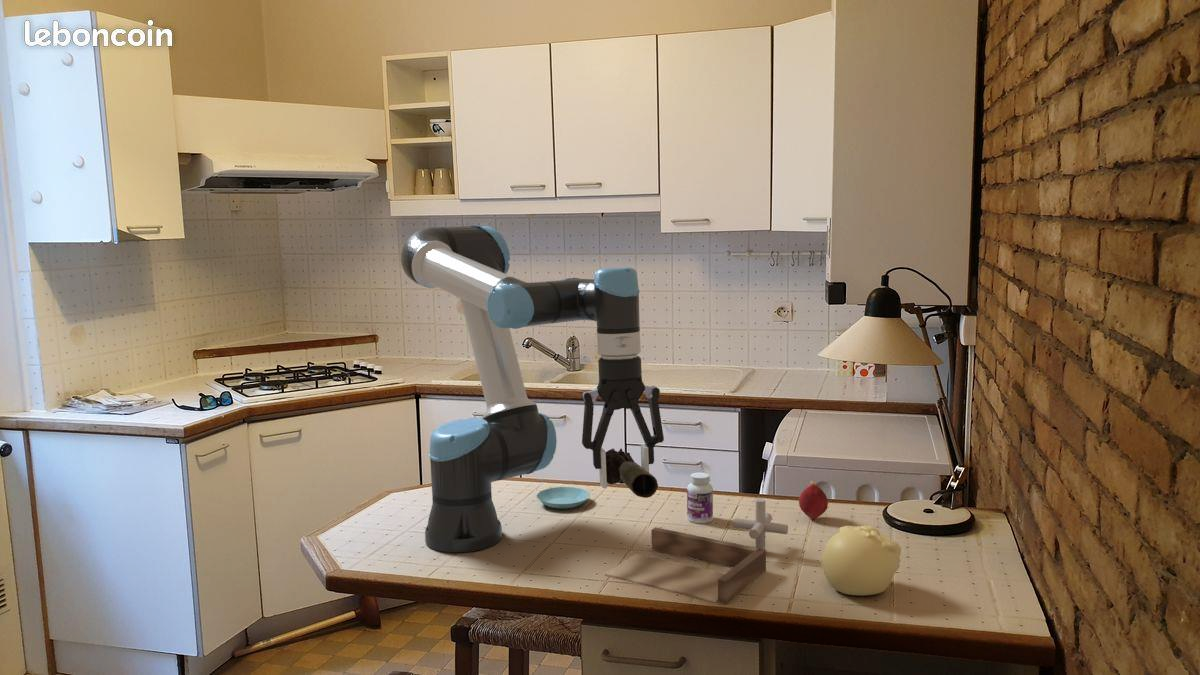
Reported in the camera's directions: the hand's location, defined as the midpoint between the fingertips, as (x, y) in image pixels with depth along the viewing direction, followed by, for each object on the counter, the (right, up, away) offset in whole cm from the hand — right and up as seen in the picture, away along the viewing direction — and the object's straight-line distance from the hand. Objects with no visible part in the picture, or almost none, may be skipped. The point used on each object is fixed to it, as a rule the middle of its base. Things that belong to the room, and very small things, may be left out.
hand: (624, 483), depth 159 cm
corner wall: (+11, -16, 0) cm, 20 cm away
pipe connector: (+26, -14, +10) cm, 31 cm away
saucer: (-13, -11, +40) cm, 44 cm away
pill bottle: (+16, -12, +28) cm, 35 cm away
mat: (+9, -16, -1) cm, 18 cm away
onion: (+40, -12, +27) cm, 49 cm away
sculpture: (+39, -17, -8) cm, 43 cm away
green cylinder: (0, -1, 0) cm, 1 cm away
